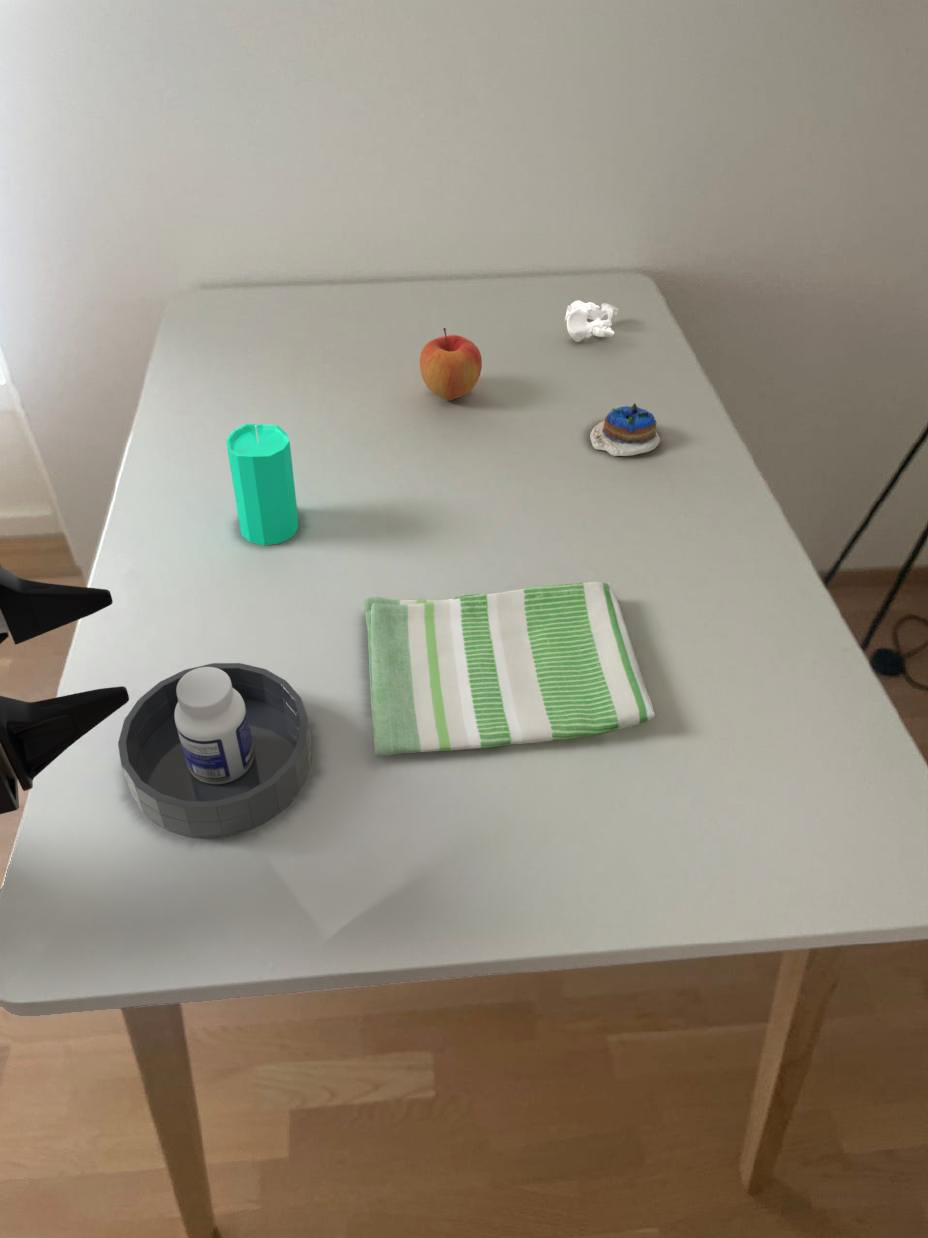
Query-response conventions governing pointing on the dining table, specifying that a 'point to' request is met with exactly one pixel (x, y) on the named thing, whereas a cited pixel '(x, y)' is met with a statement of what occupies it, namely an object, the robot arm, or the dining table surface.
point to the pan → (217, 807)
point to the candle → (263, 483)
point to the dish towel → (501, 669)
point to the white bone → (584, 311)
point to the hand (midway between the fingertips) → (119, 642)
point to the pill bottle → (213, 726)
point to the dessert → (626, 432)
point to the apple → (450, 366)
